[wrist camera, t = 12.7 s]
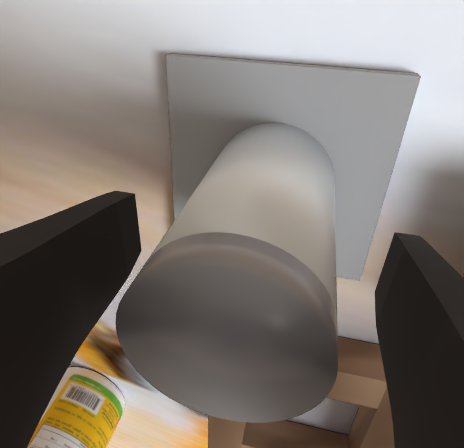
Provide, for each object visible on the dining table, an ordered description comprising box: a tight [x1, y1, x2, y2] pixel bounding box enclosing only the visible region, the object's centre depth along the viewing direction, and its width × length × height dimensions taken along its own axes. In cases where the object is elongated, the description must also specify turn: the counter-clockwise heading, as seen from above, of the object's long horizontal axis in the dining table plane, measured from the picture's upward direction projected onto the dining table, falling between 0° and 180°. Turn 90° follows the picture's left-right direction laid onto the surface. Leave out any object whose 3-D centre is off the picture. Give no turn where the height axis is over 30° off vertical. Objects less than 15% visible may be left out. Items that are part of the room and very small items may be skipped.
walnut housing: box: [208, 336, 395, 448], centre depth 20 cm, size 10×10×2 cm
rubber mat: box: [166, 53, 421, 281], centre depth 14 cm, size 8×8×1 cm
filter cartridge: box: [116, 123, 338, 423], centre depth 11 cm, size 4×4×8 cm
